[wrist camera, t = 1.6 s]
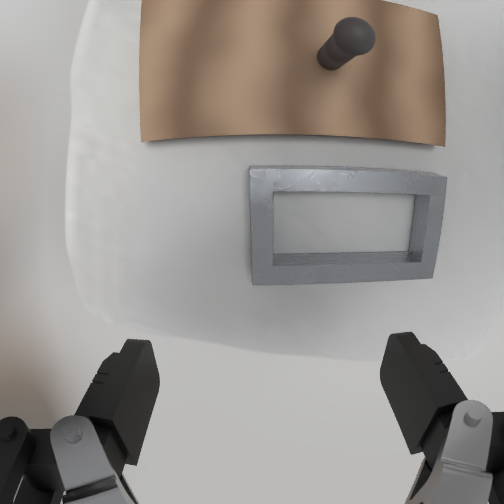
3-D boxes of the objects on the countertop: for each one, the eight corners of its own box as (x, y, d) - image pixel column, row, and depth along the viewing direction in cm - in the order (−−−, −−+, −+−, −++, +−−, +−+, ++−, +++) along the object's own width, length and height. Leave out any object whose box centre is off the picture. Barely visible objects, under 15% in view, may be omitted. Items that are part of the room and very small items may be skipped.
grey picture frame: (431, 172, 24) (447, 177, 22) (420, 266, 27) (432, 278, 25) (249, 166, 24) (249, 169, 22) (252, 271, 28) (252, 285, 25)
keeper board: (426, 20, 19) (485, -8, 10) (433, 144, 23) (500, 156, 15) (149, 8, 19) (105, -37, 11) (149, 141, 24) (98, 147, 15)
